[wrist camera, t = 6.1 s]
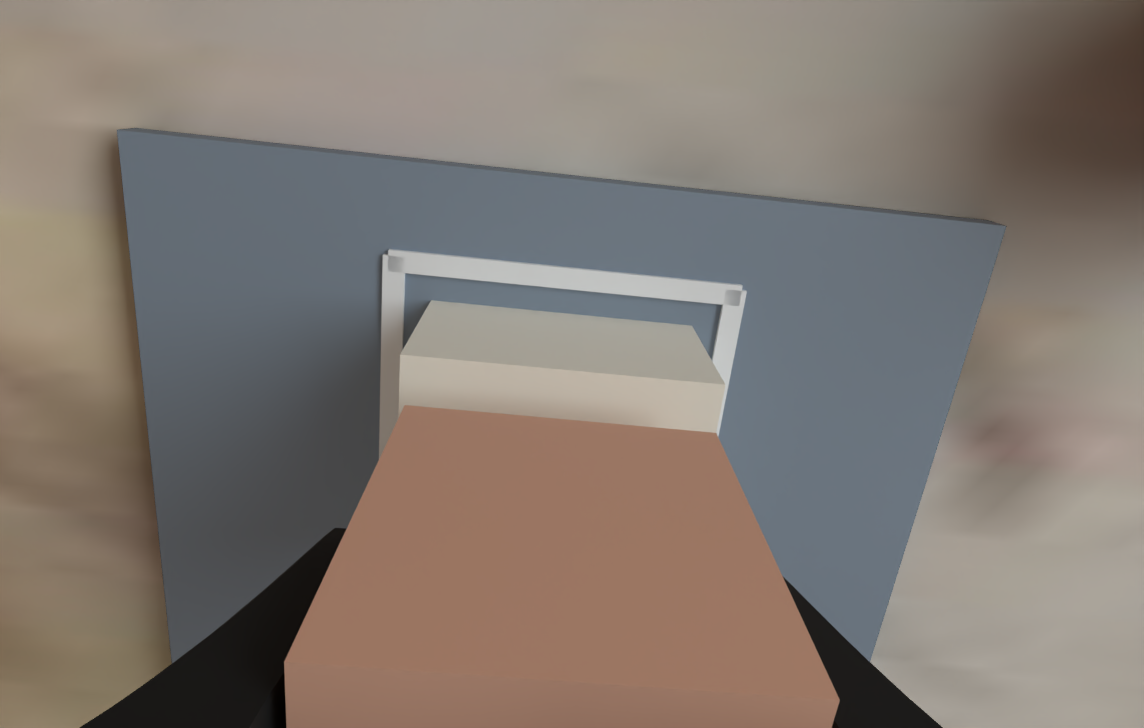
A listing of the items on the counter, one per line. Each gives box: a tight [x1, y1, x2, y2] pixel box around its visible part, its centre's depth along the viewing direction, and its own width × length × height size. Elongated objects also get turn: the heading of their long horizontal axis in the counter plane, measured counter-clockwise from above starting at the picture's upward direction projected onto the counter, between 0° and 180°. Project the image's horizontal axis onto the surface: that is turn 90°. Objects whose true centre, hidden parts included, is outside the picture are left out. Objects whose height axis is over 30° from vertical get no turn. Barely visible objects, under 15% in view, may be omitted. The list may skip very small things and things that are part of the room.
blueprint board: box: [117, 128, 1006, 663], centre depth 16 cm, size 20×16×4 cm
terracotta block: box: [284, 405, 840, 728], centre depth 9 cm, size 4×4×5 cm
